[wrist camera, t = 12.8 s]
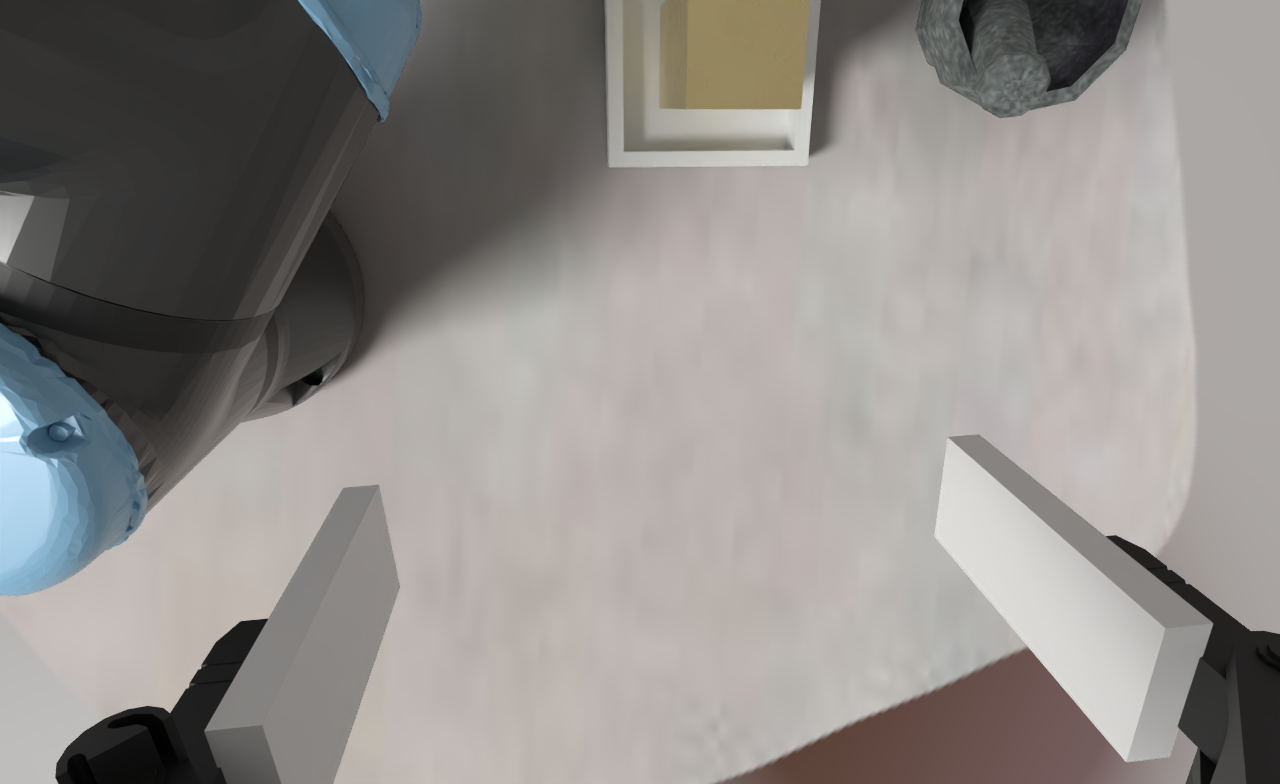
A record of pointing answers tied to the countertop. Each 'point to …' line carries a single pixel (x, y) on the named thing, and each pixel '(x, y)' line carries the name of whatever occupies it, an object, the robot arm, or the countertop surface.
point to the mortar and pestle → (1023, 48)
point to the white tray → (690, 133)
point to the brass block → (732, 54)
